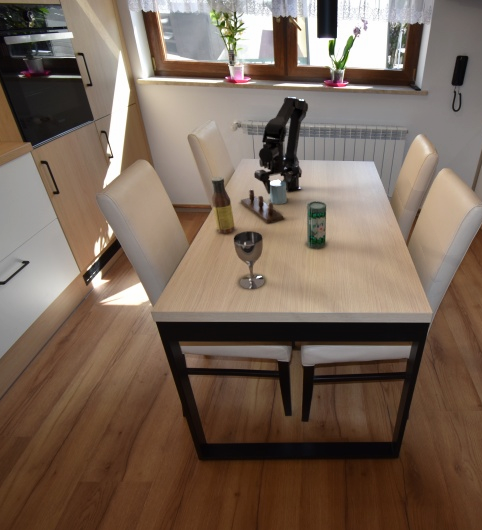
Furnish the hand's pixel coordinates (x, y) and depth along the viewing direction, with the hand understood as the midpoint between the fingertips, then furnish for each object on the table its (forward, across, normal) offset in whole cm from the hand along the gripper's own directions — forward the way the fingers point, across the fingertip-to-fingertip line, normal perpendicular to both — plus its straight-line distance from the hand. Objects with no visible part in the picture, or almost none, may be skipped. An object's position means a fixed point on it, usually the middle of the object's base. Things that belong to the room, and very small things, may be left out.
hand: (278, 191), depth 165 cm
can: (+4, +8, +40) cm, 41 cm away
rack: (+4, +11, +5) cm, 13 cm away
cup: (+4, 0, 0) cm, 4 cm away
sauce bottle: (+4, +30, +13) cm, 33 cm away
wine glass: (+4, +37, +48) cm, 61 cm away
